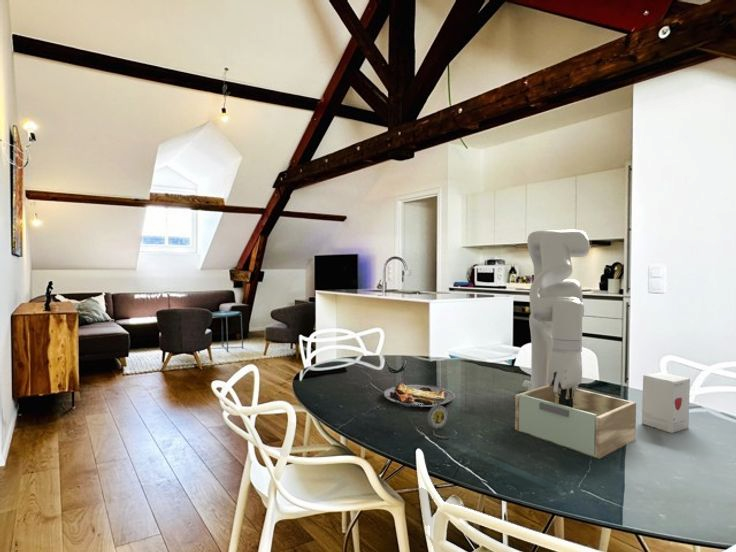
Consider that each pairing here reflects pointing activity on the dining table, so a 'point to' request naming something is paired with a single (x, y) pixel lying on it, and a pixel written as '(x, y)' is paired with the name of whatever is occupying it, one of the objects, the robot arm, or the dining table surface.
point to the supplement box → (666, 401)
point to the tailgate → (558, 423)
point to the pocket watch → (435, 414)
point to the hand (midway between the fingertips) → (565, 411)
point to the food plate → (418, 395)
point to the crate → (610, 422)
